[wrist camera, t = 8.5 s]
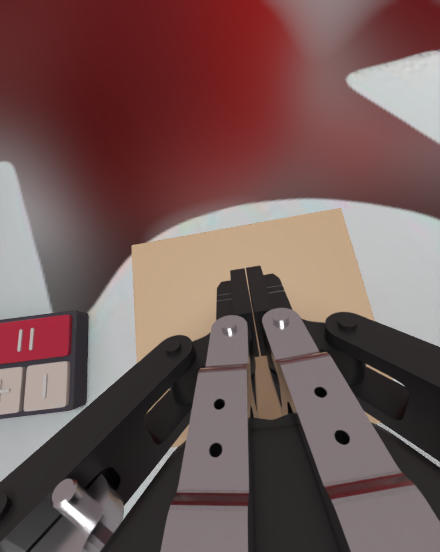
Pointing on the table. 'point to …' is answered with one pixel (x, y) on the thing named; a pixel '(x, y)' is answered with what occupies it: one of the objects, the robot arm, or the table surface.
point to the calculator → (43, 363)
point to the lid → (241, 254)
